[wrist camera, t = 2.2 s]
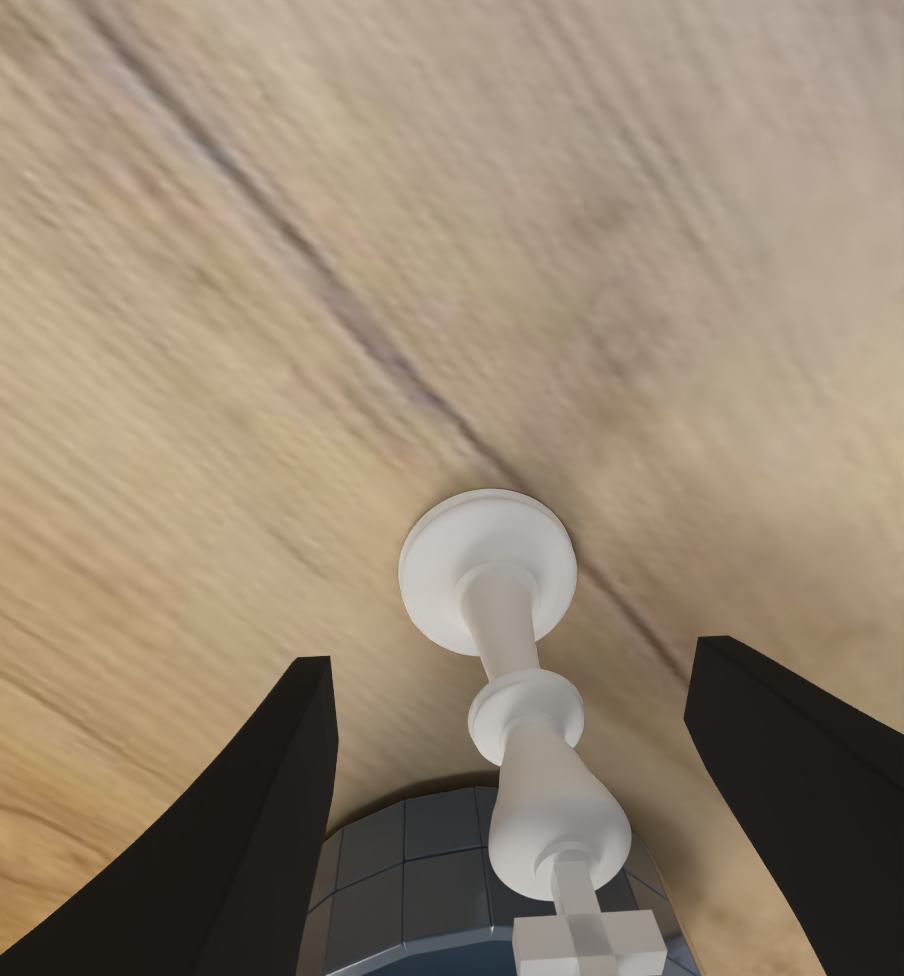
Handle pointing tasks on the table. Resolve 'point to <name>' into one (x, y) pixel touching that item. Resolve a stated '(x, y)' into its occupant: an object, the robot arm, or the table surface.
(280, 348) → the table surface
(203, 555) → the table surface
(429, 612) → the chess piece
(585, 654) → the table surface
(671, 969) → the bowl
